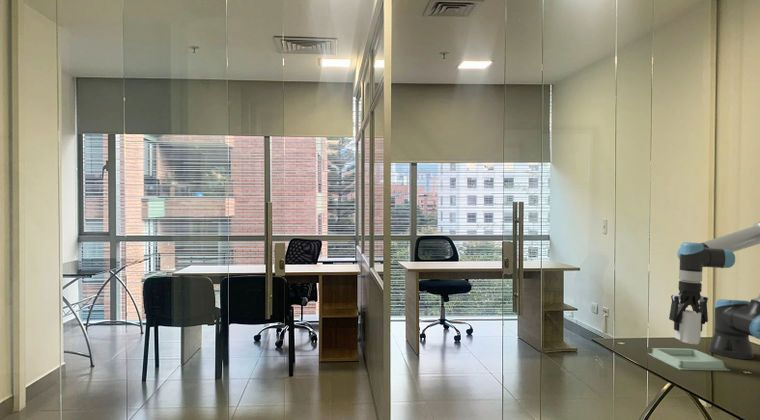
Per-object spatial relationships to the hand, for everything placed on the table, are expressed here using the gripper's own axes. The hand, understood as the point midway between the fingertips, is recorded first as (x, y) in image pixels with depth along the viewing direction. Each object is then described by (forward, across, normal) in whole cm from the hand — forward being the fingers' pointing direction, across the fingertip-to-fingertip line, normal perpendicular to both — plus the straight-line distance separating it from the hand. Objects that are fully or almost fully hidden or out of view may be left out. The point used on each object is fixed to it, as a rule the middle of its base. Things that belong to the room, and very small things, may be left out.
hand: (687, 339), depth 177 cm
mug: (+1, -1, 0) cm, 1 cm away
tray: (+9, 0, 0) cm, 9 cm away
